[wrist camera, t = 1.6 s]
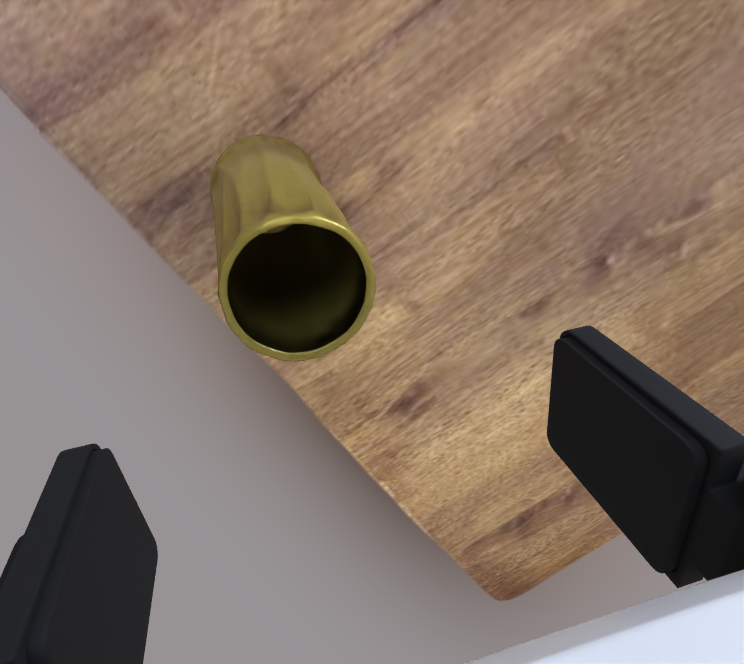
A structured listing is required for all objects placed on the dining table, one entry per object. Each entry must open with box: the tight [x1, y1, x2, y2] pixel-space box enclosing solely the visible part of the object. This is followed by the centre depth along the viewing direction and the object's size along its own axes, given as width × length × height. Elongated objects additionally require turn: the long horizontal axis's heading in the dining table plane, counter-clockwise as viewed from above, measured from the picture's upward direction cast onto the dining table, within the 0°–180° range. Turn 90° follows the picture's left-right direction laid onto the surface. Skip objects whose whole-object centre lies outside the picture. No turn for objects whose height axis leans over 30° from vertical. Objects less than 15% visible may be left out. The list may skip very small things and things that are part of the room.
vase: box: [210, 135, 376, 361], centre depth 22 cm, size 6×6×14 cm
